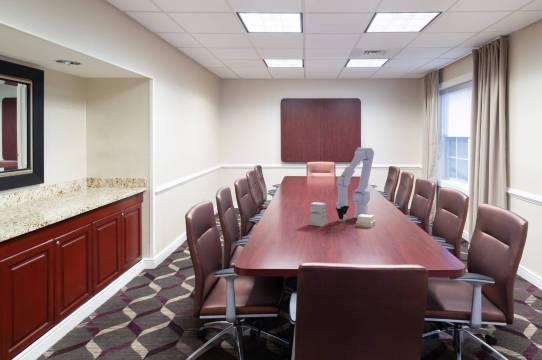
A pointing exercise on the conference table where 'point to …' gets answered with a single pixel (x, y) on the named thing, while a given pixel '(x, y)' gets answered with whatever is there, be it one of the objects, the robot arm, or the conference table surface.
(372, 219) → the top slab
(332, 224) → the conference table surface
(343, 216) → the sage capsule
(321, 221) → the supplement box
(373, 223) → the base slab
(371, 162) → the robot arm
